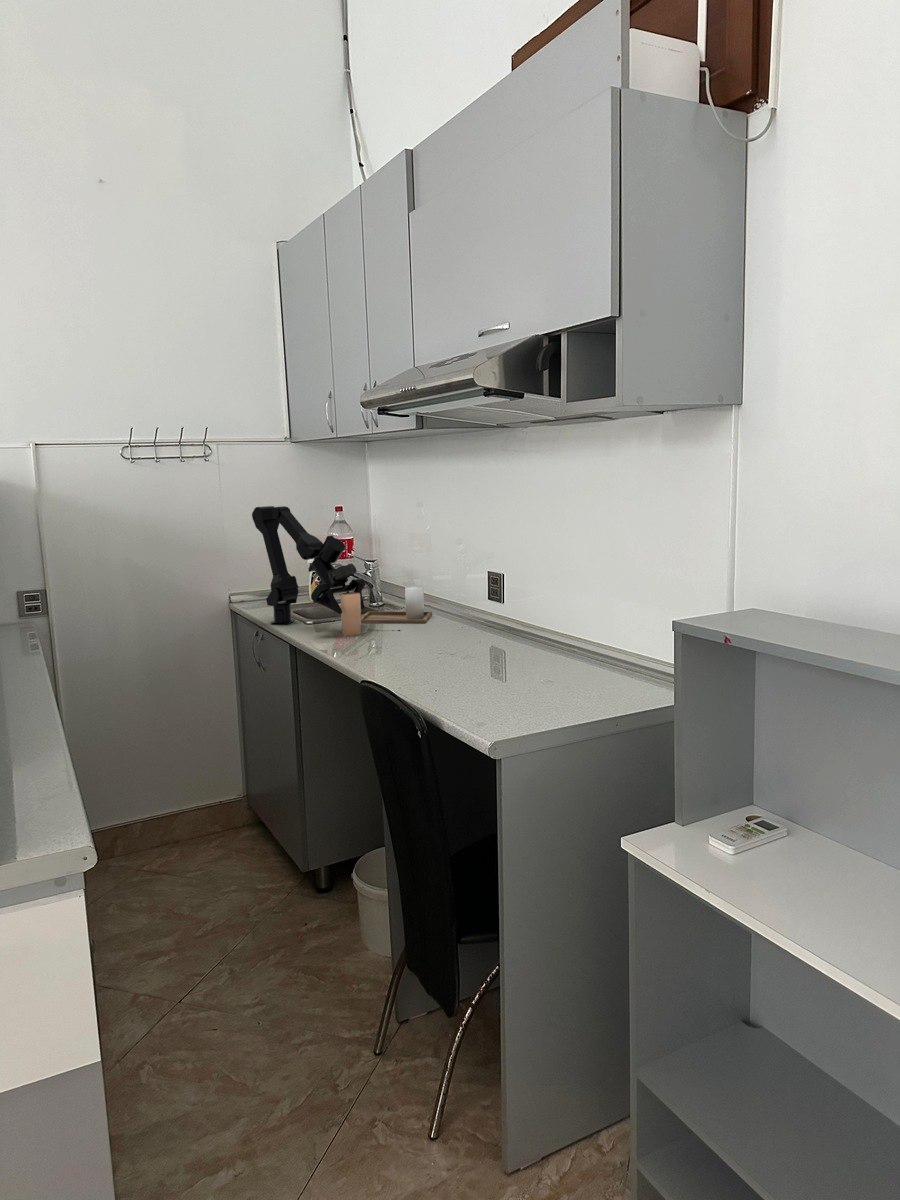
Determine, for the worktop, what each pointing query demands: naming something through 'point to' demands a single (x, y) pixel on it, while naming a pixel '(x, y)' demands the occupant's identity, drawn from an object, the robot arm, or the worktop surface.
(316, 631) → the worktop surface
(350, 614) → the peach tapered cylinder
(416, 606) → the white rounded cylinder
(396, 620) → the walnut tray
